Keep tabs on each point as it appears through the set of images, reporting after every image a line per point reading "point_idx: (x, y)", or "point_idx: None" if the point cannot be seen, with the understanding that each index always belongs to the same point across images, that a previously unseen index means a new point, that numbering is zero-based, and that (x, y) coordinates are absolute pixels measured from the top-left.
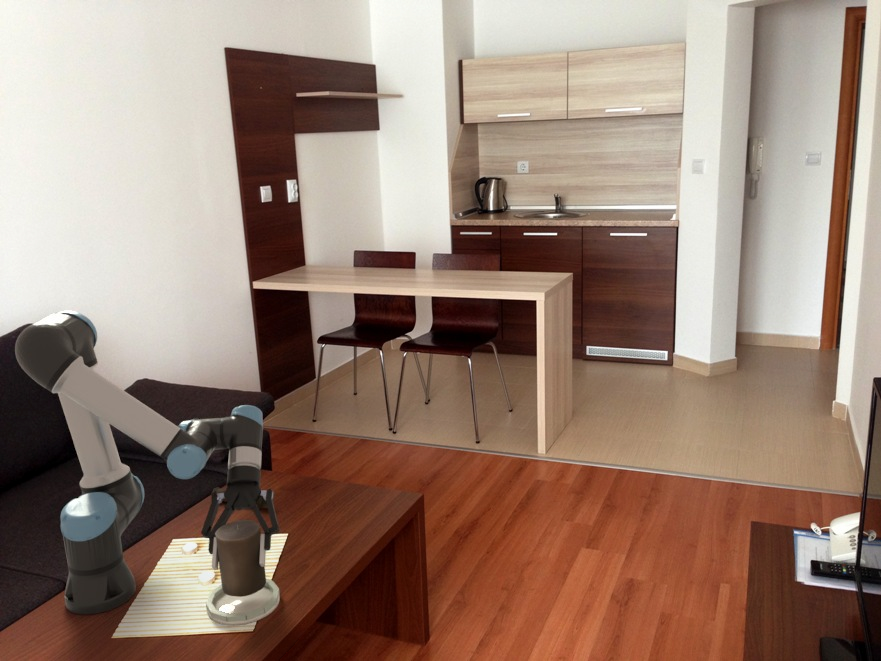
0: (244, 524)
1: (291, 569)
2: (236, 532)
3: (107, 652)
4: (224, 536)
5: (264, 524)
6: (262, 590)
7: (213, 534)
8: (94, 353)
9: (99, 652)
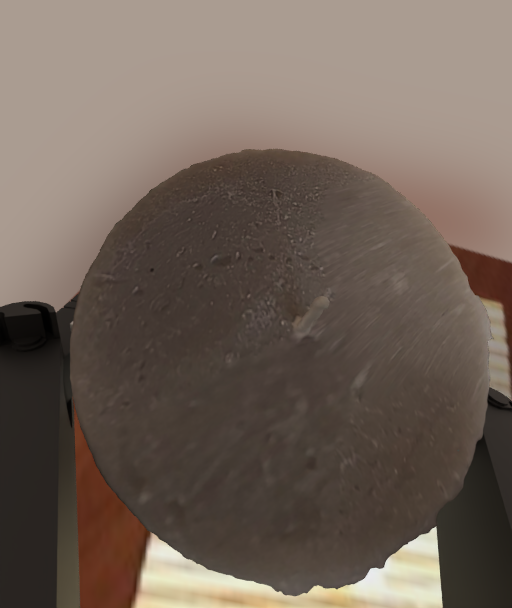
0: (243, 425)
1: (88, 545)
2: (309, 265)
3: (488, 258)
4: (399, 233)
5: (8, 393)
6: None
7: None
8: None
9: (502, 262)
